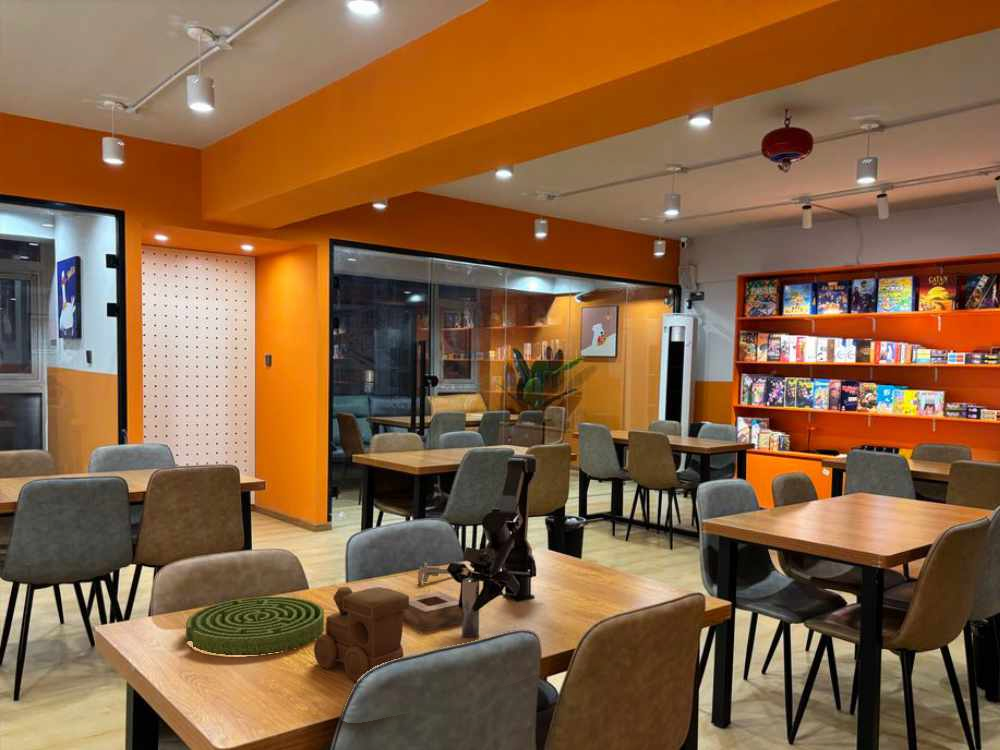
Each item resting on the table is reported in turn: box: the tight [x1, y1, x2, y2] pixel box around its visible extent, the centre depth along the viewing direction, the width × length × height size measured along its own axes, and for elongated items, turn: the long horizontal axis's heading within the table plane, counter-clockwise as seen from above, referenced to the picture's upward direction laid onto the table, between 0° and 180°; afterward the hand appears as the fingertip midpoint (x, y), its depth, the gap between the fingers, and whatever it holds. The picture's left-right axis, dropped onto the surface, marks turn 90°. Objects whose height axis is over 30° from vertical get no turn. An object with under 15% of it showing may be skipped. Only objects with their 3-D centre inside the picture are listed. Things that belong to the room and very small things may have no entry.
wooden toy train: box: [313, 586, 410, 682], centre depth 163 cm, size 20×11×17 cm, turn 49°
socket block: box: [403, 591, 462, 633], centre depth 196 cm, size 14×14×4 cm
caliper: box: [417, 562, 471, 585], centre depth 234 cm, size 20×1×6 cm, turn 134°
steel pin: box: [461, 578, 480, 639], centre depth 184 cm, size 4×4×13 cm
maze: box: [185, 596, 325, 655], centre depth 184 cm, size 31×31×5 cm
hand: (466, 608), depth 183 cm, fingers closed on steel pin, 4 cm apart
